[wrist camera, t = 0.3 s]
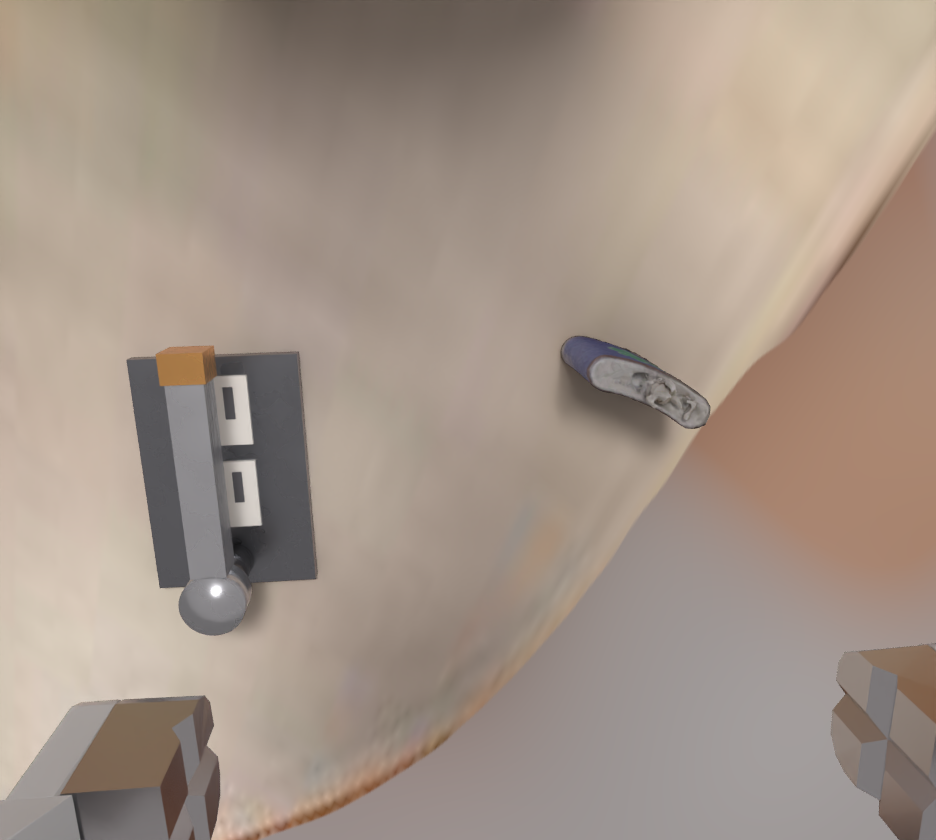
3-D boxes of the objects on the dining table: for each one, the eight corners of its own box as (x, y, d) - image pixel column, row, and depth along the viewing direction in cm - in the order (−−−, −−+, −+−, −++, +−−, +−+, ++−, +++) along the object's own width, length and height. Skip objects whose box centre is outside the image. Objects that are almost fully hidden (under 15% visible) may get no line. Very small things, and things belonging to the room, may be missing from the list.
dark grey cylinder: (215, 544, 56) (199, 571, 52) (252, 542, 56) (239, 568, 52) (219, 577, 57) (204, 606, 52) (255, 575, 57) (243, 604, 53)
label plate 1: (181, 377, 52) (180, 378, 52) (246, 374, 53) (245, 375, 52) (190, 445, 54) (189, 447, 53) (253, 443, 54) (252, 444, 54)
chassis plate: (131, 357, 53) (126, 359, 52) (298, 351, 54) (296, 353, 53) (164, 581, 57) (159, 588, 56) (317, 572, 58) (315, 578, 57)
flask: (554, 359, 55) (589, 389, 45) (571, 324, 55) (610, 346, 45) (658, 404, 57) (714, 443, 47) (675, 371, 57) (736, 402, 46)
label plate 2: (192, 462, 54) (191, 464, 54) (255, 459, 54) (254, 461, 54) (201, 527, 55) (199, 529, 55) (262, 523, 56) (261, 526, 55)
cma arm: (157, 347, 47) (142, 354, 45) (226, 345, 48) (215, 352, 45) (193, 617, 52) (182, 639, 50) (255, 614, 53) (247, 634, 50)
